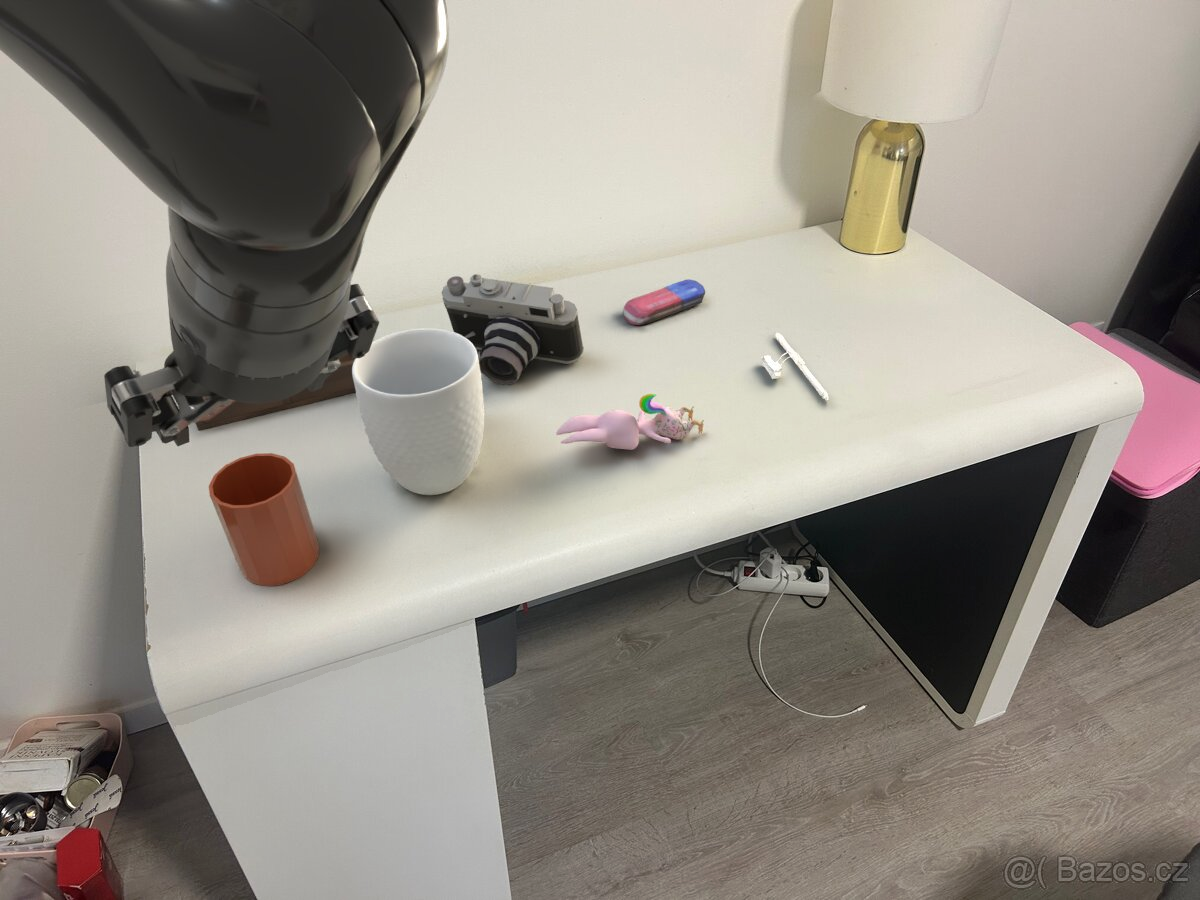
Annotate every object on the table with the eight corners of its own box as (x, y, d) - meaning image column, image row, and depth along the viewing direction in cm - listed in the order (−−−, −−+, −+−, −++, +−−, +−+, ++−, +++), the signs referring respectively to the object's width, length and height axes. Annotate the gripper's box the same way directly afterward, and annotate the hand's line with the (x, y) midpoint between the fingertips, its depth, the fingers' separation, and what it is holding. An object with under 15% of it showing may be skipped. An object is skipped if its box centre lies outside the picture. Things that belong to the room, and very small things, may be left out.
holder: (198, 430, 88) (187, 402, 85) (192, 382, 94) (181, 355, 92) (375, 387, 93) (369, 359, 91) (357, 345, 100) (351, 318, 98)
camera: (435, 381, 97) (412, 320, 89) (462, 327, 101) (442, 264, 93) (565, 403, 93) (553, 341, 85) (587, 346, 98) (578, 282, 90)
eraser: (636, 329, 102) (636, 316, 101) (617, 314, 105) (617, 302, 104) (709, 301, 107) (710, 289, 106) (690, 288, 110) (690, 276, 108)
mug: (429, 408, 90) (411, 299, 82) (525, 428, 87) (516, 317, 79) (354, 498, 79) (325, 382, 71) (461, 523, 76) (442, 407, 68)
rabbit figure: (680, 421, 90) (547, 433, 85) (692, 373, 87) (553, 383, 81) (706, 456, 86) (566, 471, 80) (719, 407, 82) (574, 419, 77)
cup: (245, 596, 70) (212, 517, 64) (236, 544, 75) (205, 466, 69) (325, 571, 72) (301, 492, 66) (312, 522, 77) (288, 445, 71)
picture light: (830, 402, 90) (834, 386, 89) (793, 408, 90) (795, 392, 88) (778, 335, 101) (780, 320, 100) (744, 340, 100) (746, 325, 99)
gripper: (360, 186, 42) (320, 312, 57) (52, 276, 36) (95, 394, 50) (432, 317, 42) (374, 410, 56) (137, 432, 35) (155, 505, 50)
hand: (243, 402), depth 53 cm, fingers open, 8 cm apart
